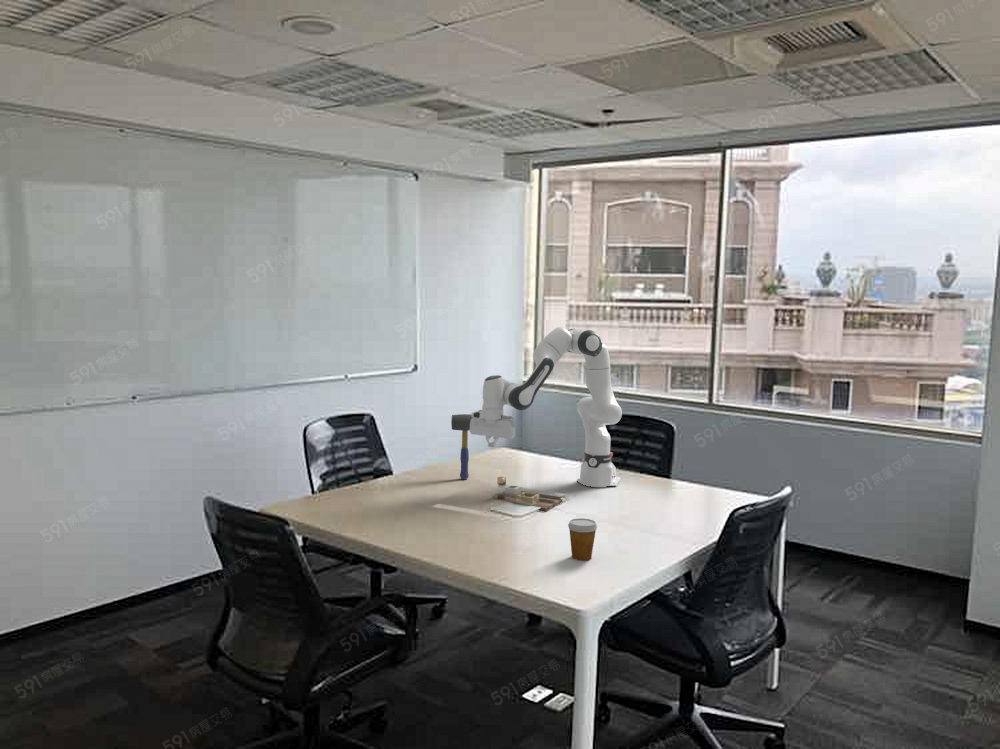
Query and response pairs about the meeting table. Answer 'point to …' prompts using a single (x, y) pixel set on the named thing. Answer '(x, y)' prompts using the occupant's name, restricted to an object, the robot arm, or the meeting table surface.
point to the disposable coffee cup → (582, 538)
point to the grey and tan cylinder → (501, 487)
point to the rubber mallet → (463, 440)
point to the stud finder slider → (512, 489)
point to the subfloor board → (544, 502)
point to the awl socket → (527, 498)
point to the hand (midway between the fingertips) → (491, 446)
